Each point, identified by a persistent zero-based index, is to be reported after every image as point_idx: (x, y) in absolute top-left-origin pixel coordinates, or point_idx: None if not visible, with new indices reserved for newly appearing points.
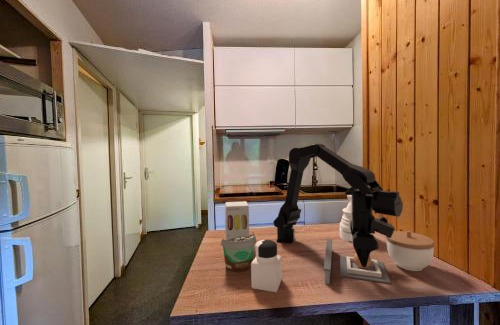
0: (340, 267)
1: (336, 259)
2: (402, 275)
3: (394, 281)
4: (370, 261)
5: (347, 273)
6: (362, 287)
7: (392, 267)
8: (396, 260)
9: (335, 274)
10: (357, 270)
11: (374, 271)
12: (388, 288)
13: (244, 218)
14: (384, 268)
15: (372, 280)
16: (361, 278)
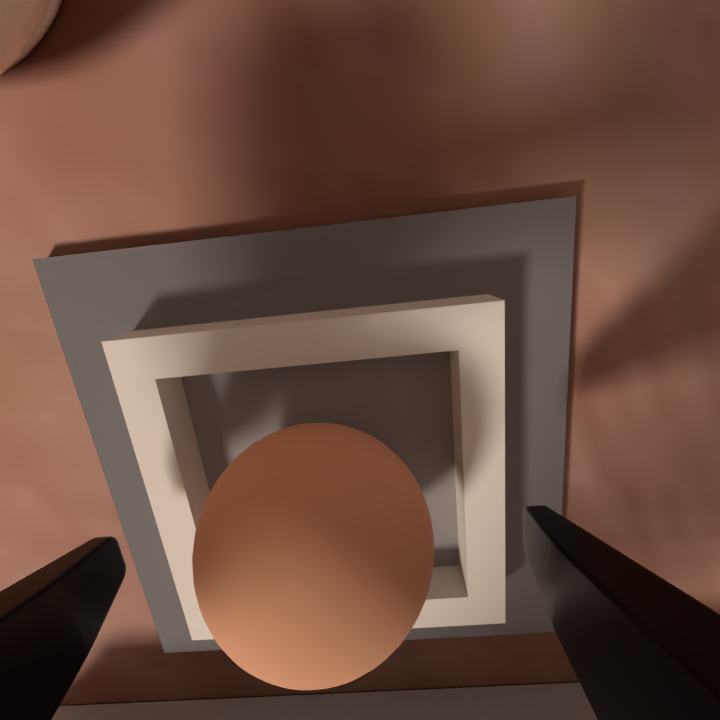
0: (408, 639)
1: (227, 661)
2: (284, 30)
3: (488, 153)
4: (367, 456)
5: (509, 587)
6: (704, 463)
7: (107, 143)
8: (17, 28)
9: (527, 651)
10: (502, 539)
11: (472, 378)
12: (671, 233)
13: None
14: (225, 246)
15: (565, 383)
16: (562, 477)
